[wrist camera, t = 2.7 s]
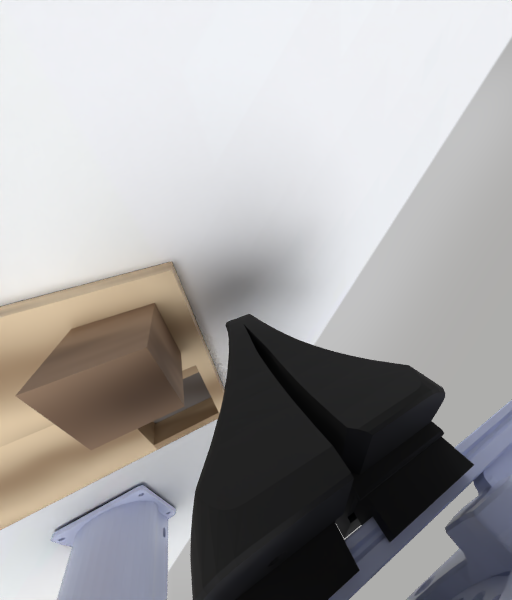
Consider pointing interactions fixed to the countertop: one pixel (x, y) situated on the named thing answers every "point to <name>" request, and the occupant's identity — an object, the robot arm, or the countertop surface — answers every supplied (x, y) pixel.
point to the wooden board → (54, 441)
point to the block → (109, 377)
